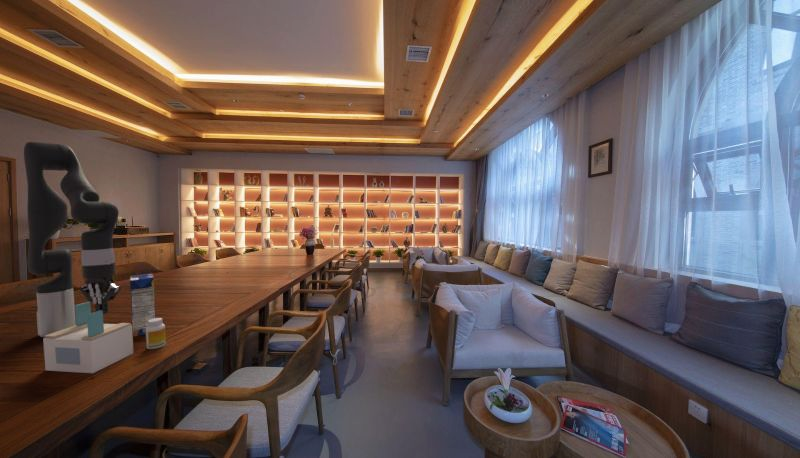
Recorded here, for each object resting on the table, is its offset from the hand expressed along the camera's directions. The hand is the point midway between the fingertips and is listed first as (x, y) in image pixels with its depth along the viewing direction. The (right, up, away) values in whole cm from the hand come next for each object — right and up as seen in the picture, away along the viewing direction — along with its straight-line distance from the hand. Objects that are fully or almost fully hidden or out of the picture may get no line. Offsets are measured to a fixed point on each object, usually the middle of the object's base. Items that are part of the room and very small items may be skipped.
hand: (102, 313), depth 95 cm
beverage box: (-5, -13, +22) cm, 26 cm away
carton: (-1, -15, -3) cm, 15 cm away
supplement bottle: (+11, -14, +8) cm, 20 cm away
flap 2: (+6, -5, -4) cm, 8 cm away
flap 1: (-7, -4, -3) cm, 9 cm away
